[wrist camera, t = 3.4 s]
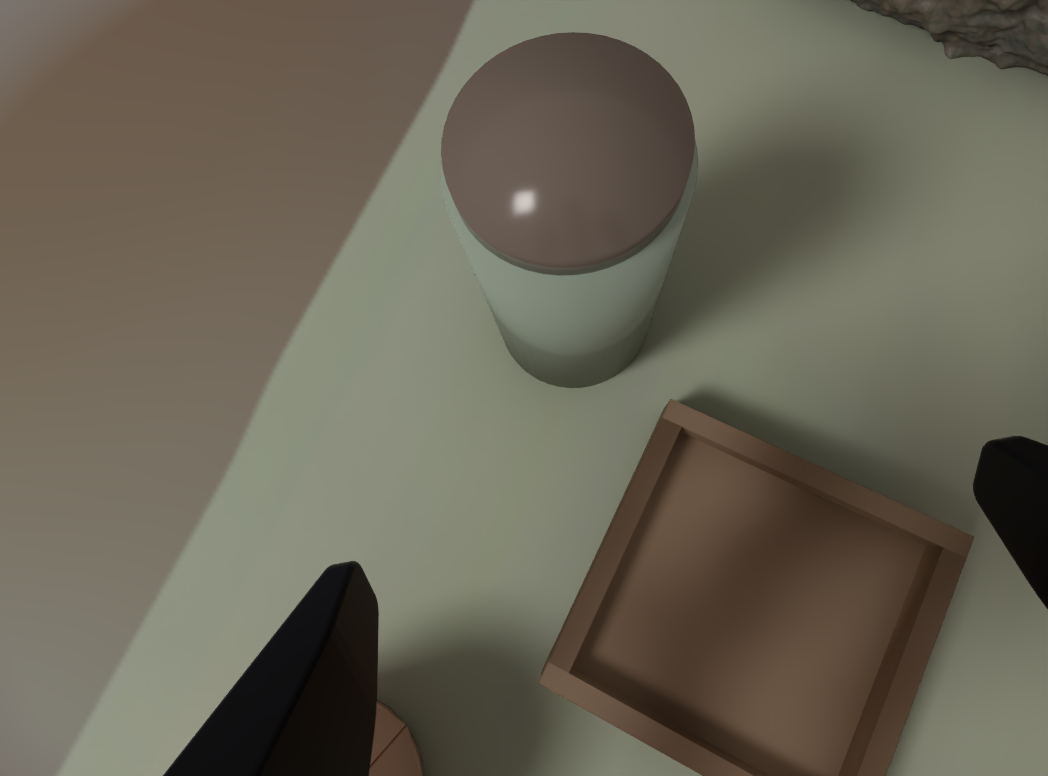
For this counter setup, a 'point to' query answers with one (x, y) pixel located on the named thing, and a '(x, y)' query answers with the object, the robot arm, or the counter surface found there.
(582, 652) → the walnut tray
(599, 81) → the spice jar
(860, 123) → the counter surface
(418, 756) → the terracotta cup
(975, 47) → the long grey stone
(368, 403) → the counter surface
